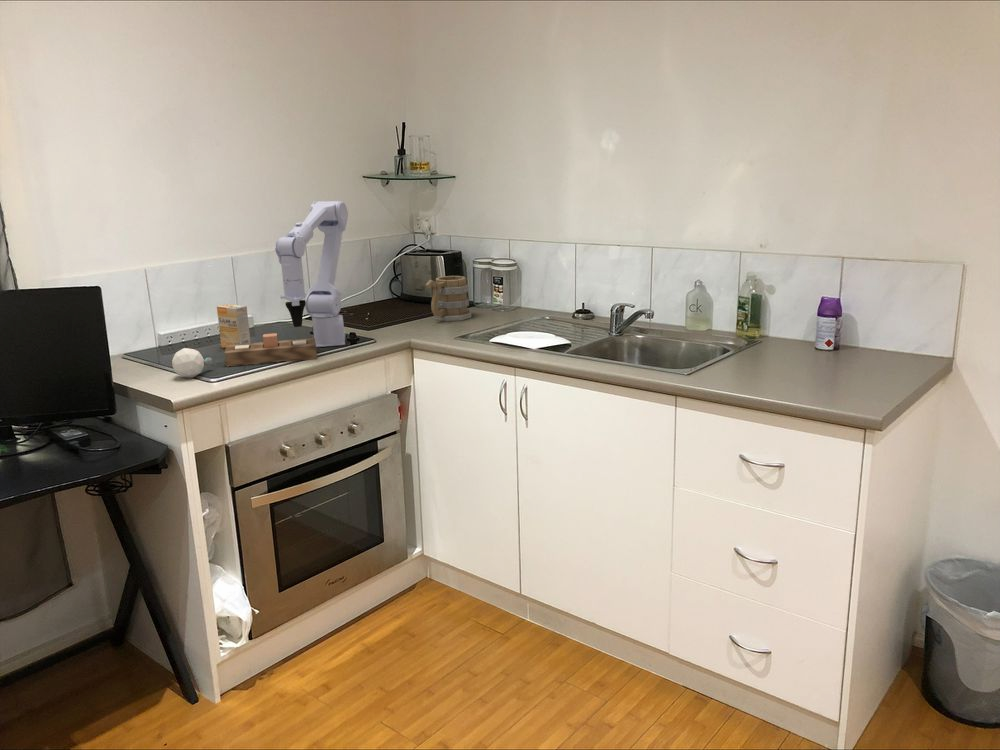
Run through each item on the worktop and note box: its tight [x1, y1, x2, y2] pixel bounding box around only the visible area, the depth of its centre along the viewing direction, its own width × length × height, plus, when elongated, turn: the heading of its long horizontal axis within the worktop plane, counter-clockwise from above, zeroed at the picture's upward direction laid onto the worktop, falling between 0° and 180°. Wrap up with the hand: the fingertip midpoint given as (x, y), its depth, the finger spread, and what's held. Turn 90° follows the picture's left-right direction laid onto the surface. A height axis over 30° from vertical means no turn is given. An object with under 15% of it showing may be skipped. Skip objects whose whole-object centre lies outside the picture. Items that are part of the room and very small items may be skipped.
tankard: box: [425, 275, 472, 322], centre depth 279 cm, size 20×13×15 cm, turn 144°
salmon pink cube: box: [262, 332, 279, 348], centre depth 233 cm, size 4×4×4 cm
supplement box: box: [216, 303, 251, 349], centre depth 247 cm, size 8×5×13 cm, turn 62°
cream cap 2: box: [293, 340, 306, 345], centre depth 235 cm, size 4×4×4 cm
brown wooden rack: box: [224, 337, 318, 368], centre depth 233 cm, size 25×10×4 cm, turn 104°
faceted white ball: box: [171, 347, 213, 379], centre depth 218 cm, size 8×8×12 cm
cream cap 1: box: [235, 345, 250, 350], centre depth 231 cm, size 4×4×4 cm
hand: (297, 326), depth 233 cm, fingers closed
